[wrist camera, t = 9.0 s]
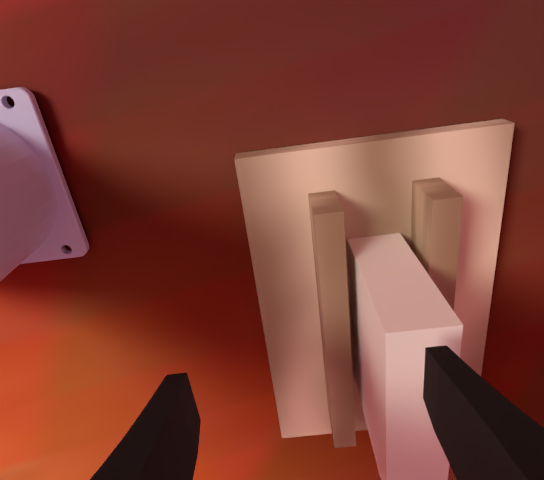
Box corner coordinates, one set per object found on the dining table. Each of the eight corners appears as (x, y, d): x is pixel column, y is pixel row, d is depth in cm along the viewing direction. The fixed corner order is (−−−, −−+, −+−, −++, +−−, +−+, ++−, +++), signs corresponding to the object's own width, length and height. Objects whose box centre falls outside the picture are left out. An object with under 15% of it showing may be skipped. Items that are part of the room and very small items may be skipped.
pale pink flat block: (354, 378, 24) (386, 501, 17) (347, 238, 20) (385, 333, 13) (398, 373, 23) (447, 495, 17) (400, 232, 19) (464, 324, 13)
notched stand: (281, 424, 27) (283, 476, 23) (235, 153, 19) (229, 176, 16) (468, 406, 26) (495, 456, 23) (502, 118, 18) (551, 135, 15)
